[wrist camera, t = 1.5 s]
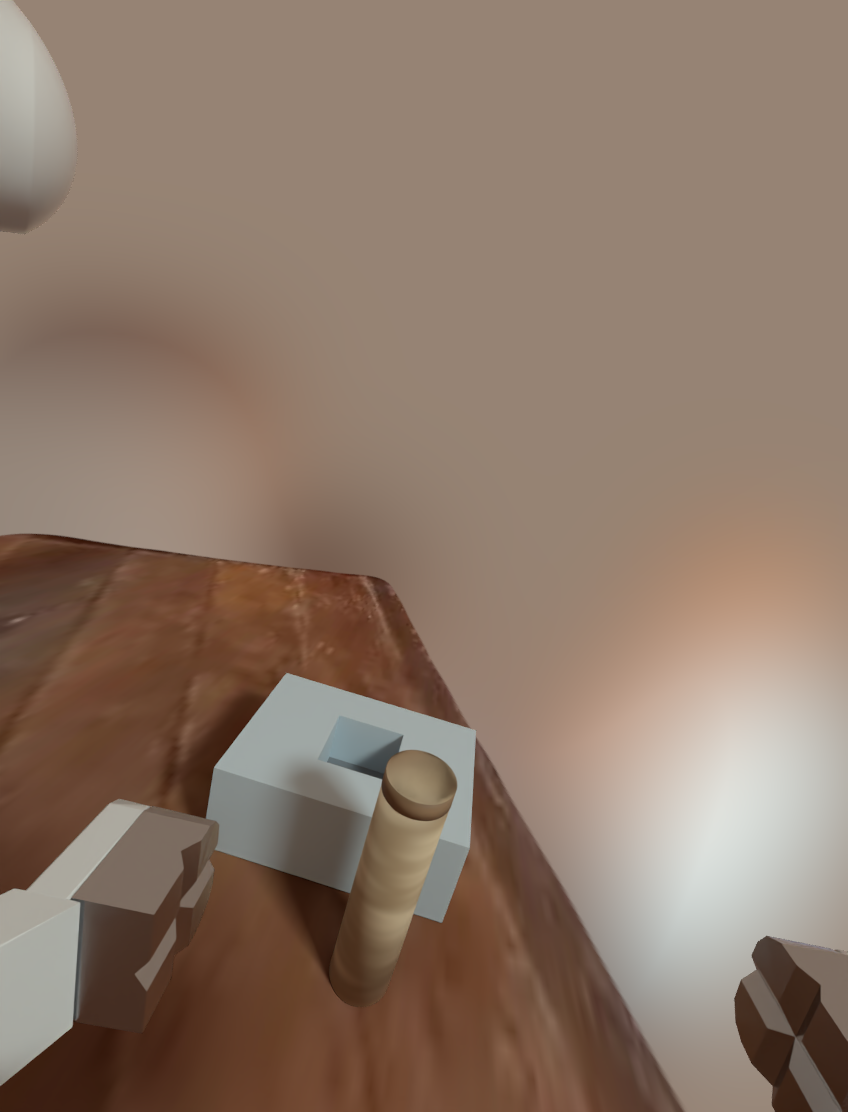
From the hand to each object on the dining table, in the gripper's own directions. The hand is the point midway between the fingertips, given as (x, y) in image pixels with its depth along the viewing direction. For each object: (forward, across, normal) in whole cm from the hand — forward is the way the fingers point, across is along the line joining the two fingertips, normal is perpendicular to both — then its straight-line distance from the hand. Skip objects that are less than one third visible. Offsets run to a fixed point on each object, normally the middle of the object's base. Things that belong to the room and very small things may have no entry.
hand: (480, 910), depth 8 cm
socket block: (+22, +4, +18) cm, 29 cm away
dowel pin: (+13, +1, +19) cm, 23 cm away
